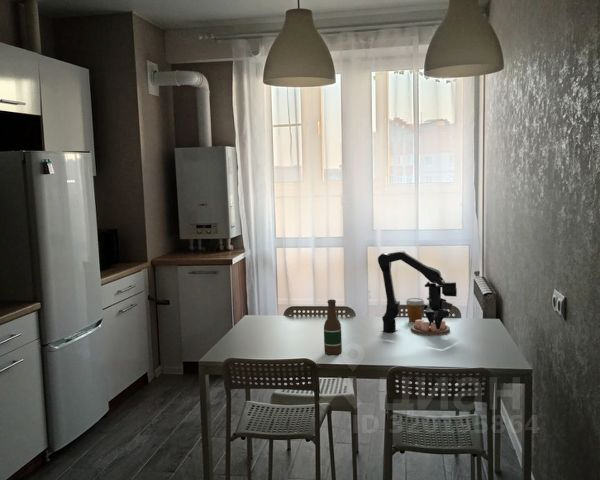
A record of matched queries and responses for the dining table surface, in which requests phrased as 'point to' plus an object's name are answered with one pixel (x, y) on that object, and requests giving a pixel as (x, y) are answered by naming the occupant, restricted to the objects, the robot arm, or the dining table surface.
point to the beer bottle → (332, 331)
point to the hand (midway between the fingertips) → (435, 327)
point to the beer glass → (414, 309)
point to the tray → (447, 330)
